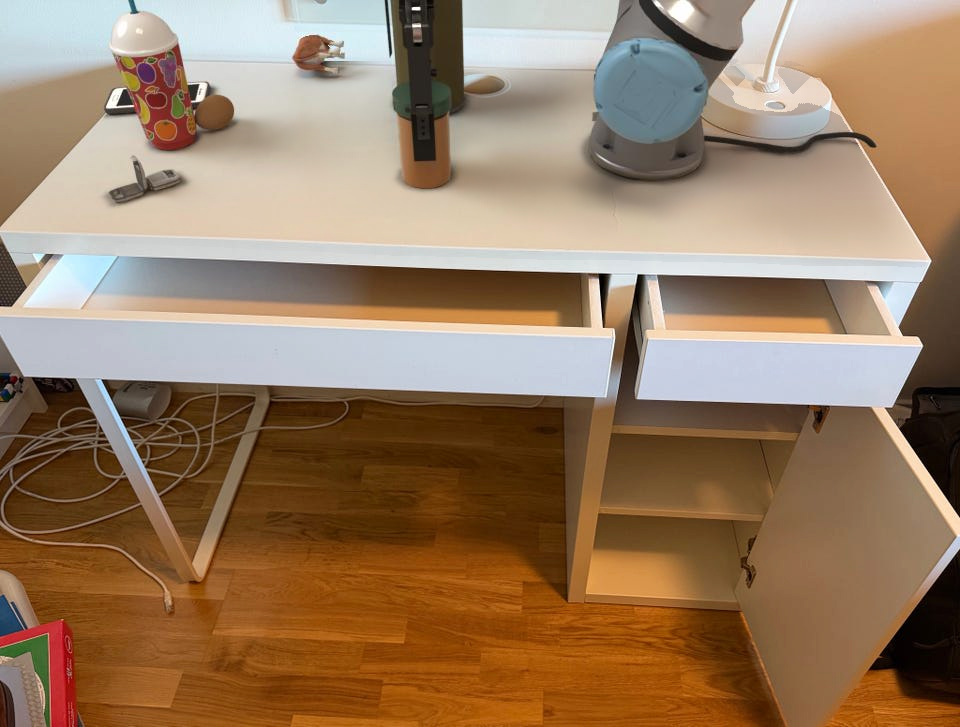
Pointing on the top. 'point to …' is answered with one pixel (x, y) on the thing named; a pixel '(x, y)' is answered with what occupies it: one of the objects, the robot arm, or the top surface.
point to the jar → (425, 171)
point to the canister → (435, 47)
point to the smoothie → (154, 77)
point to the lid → (439, 98)
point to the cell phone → (123, 104)
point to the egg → (214, 112)
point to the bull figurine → (316, 53)
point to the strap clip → (145, 182)
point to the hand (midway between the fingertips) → (424, 144)
